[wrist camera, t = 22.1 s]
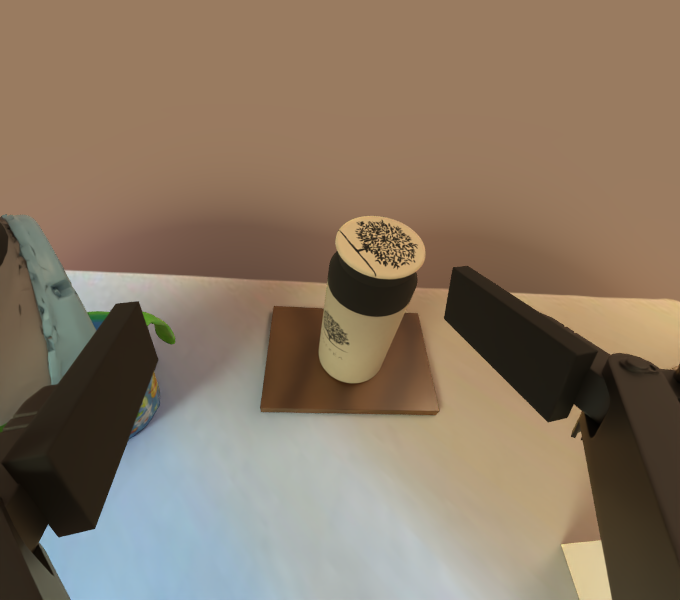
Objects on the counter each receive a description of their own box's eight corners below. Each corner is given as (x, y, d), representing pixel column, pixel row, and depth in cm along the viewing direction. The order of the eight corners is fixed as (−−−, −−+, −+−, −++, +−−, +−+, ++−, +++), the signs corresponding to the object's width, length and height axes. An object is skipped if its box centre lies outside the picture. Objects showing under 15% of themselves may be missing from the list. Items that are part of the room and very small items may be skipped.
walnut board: (260, 412, 36) (260, 408, 35) (273, 311, 45) (273, 305, 44) (436, 415, 38) (439, 411, 37) (415, 318, 47) (417, 313, 46)
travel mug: (366, 321, 44) (400, 208, 30) (393, 373, 40) (448, 267, 26) (309, 336, 41) (319, 220, 28) (332, 393, 37) (356, 287, 23)
